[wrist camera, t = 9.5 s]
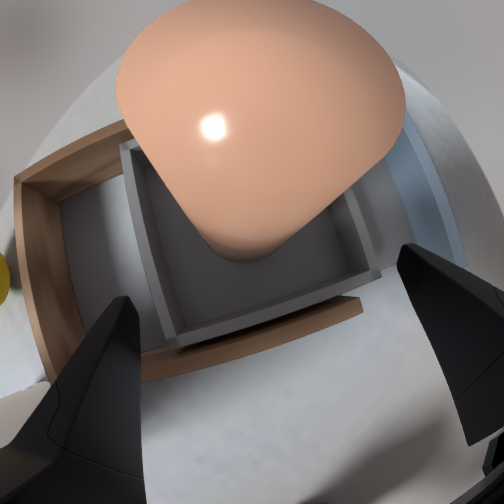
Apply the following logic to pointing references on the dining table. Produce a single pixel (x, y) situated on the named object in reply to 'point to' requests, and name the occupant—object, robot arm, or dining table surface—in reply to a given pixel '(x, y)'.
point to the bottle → (19, 410)
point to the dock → (60, 286)
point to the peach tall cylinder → (258, 114)
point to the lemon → (4, 279)
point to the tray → (287, 245)
